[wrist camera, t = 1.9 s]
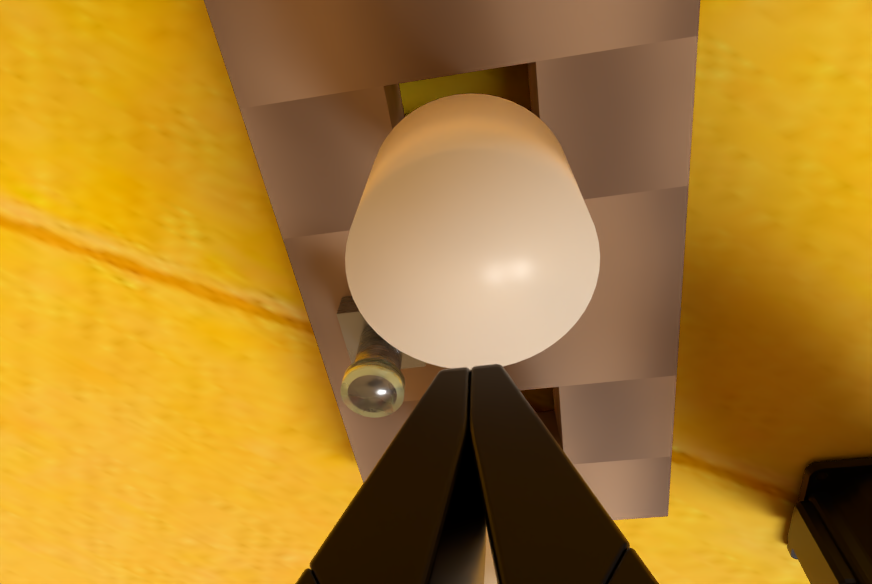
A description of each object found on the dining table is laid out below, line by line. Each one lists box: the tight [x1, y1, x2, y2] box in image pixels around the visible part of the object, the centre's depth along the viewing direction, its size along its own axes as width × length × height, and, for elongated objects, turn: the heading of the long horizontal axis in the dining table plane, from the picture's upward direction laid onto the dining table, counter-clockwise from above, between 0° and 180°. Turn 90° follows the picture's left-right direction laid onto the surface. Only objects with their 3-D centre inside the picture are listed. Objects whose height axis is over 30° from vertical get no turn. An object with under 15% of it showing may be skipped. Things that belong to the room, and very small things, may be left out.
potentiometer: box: [337, 296, 426, 418], centre depth 18 cm, size 2×2×4 cm
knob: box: [345, 93, 600, 370], centre depth 14 cm, size 5×5×6 cm
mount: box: [204, 0, 700, 520], centre depth 21 cm, size 12×22×3 cm, turn 9°
